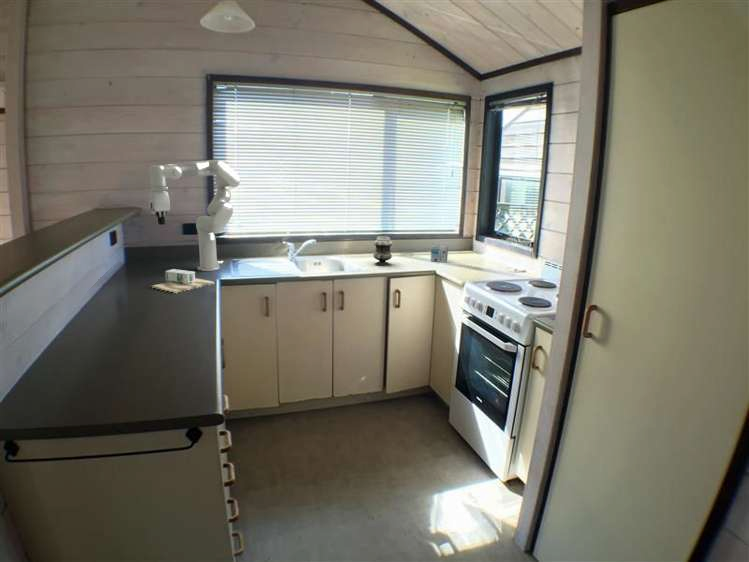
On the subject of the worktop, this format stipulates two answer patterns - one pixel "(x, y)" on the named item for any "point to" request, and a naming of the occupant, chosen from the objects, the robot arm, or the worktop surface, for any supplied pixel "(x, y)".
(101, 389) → the worktop surface
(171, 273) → the syrup box
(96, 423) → the worktop surface
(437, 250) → the light bulb box
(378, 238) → the apothecary jar
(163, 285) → the chopping board
